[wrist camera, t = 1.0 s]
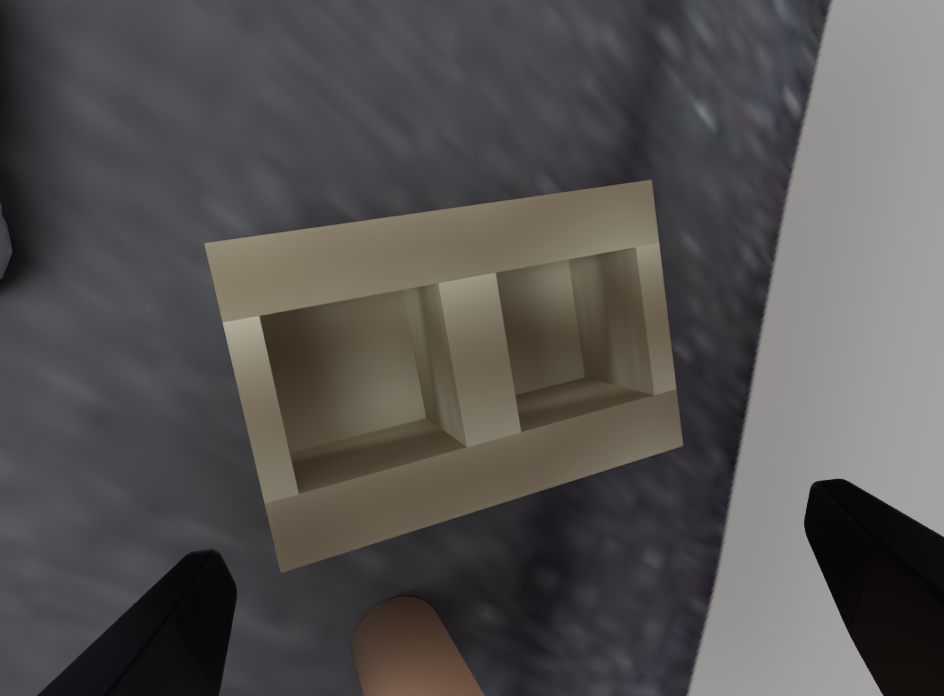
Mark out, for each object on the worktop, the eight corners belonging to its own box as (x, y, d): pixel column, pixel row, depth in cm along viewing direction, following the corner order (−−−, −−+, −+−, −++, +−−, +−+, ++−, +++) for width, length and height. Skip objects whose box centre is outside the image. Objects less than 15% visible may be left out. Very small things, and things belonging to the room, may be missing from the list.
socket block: (596, 414, 23) (683, 445, 19) (273, 505, 19) (280, 572, 15) (566, 203, 22) (651, 180, 17) (216, 255, 18) (204, 243, 14)
